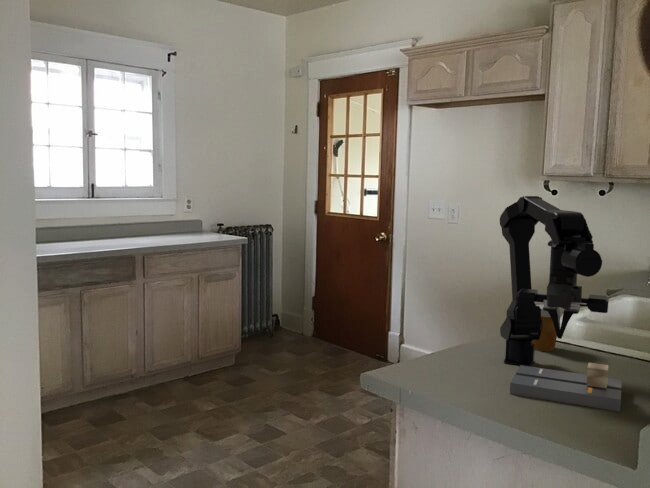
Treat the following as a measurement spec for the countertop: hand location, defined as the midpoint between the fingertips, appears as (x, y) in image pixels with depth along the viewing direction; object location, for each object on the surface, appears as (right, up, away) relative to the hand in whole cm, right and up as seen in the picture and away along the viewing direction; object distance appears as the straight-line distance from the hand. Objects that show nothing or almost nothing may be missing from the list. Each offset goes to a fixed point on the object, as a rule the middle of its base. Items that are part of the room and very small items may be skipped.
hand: (559, 338), depth 137 cm
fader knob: (+7, -12, -3) cm, 14 cm away
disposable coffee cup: (+8, -8, +34) cm, 36 cm away
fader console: (+1, -12, 0) cm, 12 cm away
